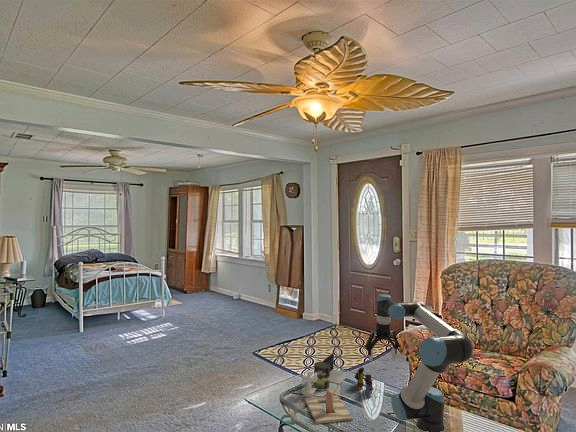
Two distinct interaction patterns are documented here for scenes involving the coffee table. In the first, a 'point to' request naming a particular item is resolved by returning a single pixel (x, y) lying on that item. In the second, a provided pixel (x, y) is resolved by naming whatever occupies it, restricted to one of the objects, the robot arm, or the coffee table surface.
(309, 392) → the figurine
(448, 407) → the coffee table surface
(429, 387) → the robot arm
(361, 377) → the doll family
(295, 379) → the coffee table surface
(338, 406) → the keyhole board
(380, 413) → the coffee table surface
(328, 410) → the peg
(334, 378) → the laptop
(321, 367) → the green brown figure
